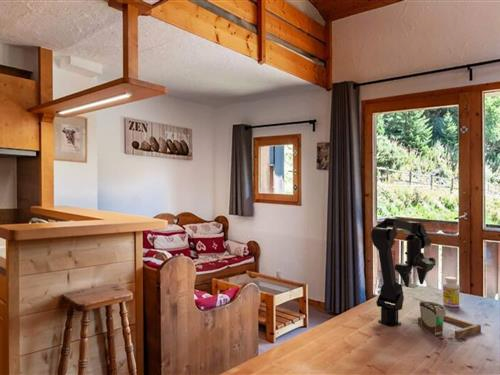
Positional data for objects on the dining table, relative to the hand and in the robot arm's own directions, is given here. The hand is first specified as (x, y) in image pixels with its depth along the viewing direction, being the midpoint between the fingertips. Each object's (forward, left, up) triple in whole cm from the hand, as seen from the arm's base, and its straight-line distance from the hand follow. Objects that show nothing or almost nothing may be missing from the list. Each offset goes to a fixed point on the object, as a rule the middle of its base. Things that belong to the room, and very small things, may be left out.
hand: (414, 285), depth 163 cm
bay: (-10, -18, -12) cm, 24 cm away
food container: (-11, -18, -12) cm, 25 cm away
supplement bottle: (+24, -1, -12) cm, 27 cm away
